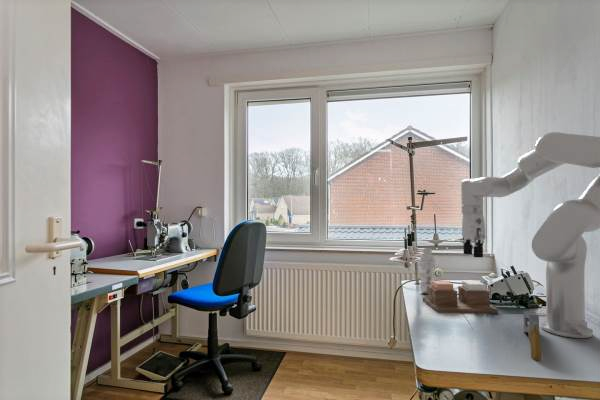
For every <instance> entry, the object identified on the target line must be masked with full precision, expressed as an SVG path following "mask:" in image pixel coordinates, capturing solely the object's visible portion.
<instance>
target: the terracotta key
mask: <svg viewBox="0 0 600 400" xmlns="http://www.w3.org/2000/svg"><path fill="white" fill-rule="evenodd" d="M432 287H433V288H434V289H436V290H453V289H454V283H452V282H450V281H448V280H434V281H432Z"/></svg>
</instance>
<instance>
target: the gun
mask: <svg viewBox="0 0 600 400" xmlns="http://www.w3.org/2000/svg"><path fill="white" fill-rule="evenodd" d="M522 314H523V333H524V334H528V338H529V341H530V343H529V344H530V358H531V359H532V360H534V361H541V360H542V353H541V351H542V349H541V340H540V318H539V317H540V315H539V314H538V313H536V312H534V311H532V310H523V313H522Z"/></svg>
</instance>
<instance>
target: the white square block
mask: <svg viewBox="0 0 600 400" xmlns="http://www.w3.org/2000/svg"><path fill="white" fill-rule="evenodd" d="M461 286H462V287H463V288H465V289H467V290H469V291H485V289H486V284H485V283H484V282H481V281H479V280H462V282H461Z"/></svg>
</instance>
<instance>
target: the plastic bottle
mask: <svg viewBox="0 0 600 400" xmlns="http://www.w3.org/2000/svg"><path fill="white" fill-rule="evenodd" d="M432 254H433V251H432V248H427V247H426V248H422V255H421V257H420V259H419V263H420V272H421V273H420V284H419V289H420V290H419V291H420V292H421V293H422V294H425V295H428V286H432V281H435V273H434V272H435V266H436V259H435V257H434V255H432Z"/></svg>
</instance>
